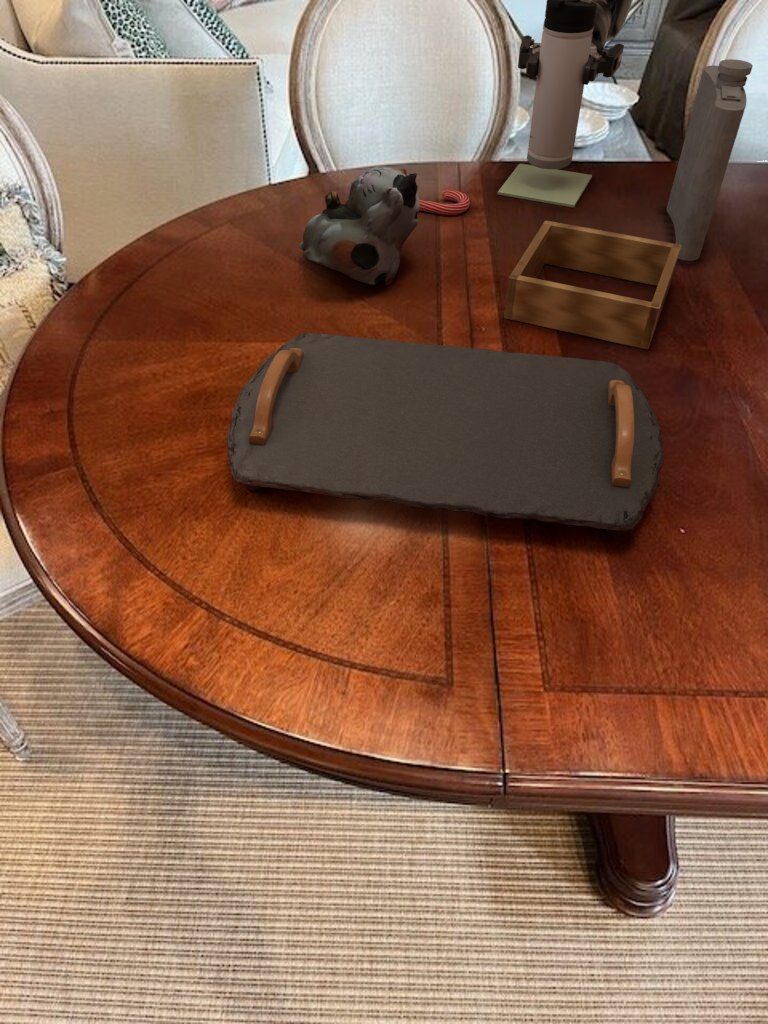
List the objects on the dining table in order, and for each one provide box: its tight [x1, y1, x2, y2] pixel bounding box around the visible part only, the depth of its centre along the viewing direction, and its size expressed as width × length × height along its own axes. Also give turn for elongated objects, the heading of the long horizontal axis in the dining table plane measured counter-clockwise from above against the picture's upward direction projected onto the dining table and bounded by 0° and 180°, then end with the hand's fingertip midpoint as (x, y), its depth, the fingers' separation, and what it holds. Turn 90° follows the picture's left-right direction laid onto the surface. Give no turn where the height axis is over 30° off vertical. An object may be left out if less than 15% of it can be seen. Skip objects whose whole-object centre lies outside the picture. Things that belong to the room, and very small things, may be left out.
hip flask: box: [666, 58, 754, 262], centre depth 95 cm, size 16×4×20 cm, turn 169°
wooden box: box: [503, 220, 682, 350], centre depth 88 cm, size 16×15×5 cm
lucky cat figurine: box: [298, 166, 421, 288], centre depth 92 cm, size 15×12×14 cm
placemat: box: [496, 163, 593, 208], centre depth 112 cm, size 11×11×1 cm
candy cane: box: [419, 189, 471, 216], centre depth 108 cm, size 6×15×2 cm, turn 68°
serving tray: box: [226, 332, 665, 537], centre depth 70 cm, size 39×23×6 cm, turn 80°
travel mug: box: [526, 0, 597, 170], centre depth 103 cm, size 6×7×20 cm
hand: (559, 73), depth 100 cm, fingers closed on travel mug, 6 cm apart
